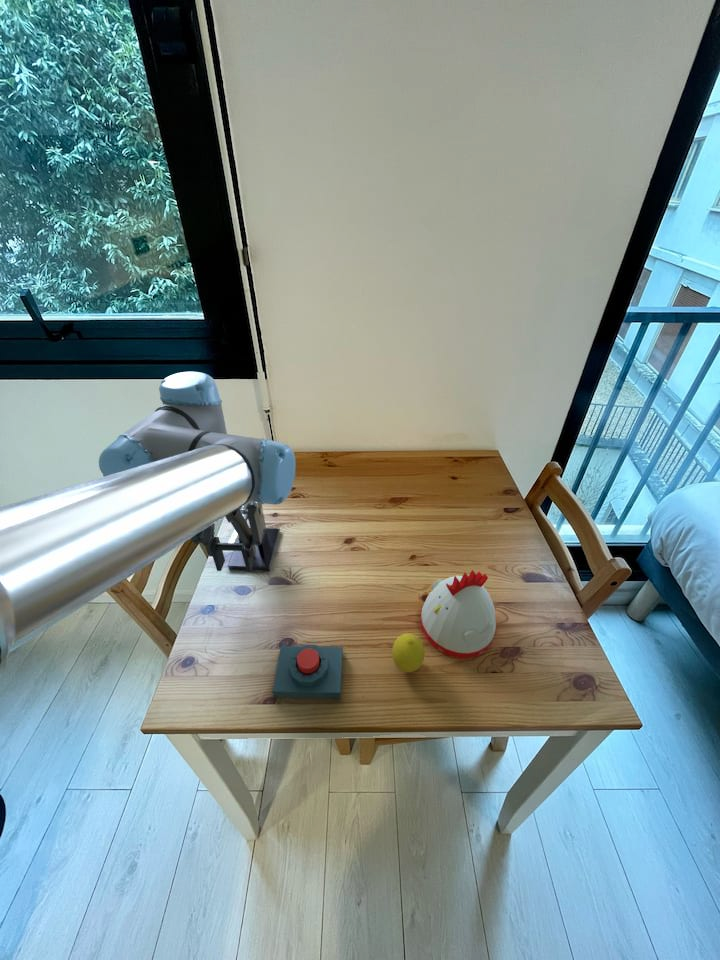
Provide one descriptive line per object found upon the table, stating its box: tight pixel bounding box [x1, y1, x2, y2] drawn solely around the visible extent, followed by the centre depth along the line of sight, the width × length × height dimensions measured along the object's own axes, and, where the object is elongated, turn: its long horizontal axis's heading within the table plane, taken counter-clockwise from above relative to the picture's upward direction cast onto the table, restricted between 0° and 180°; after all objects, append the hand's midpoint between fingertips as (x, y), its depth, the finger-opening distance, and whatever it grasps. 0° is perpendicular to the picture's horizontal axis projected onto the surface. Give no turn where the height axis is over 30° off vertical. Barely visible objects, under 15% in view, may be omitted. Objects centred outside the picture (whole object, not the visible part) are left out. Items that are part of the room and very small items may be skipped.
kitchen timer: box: [419, 569, 497, 659], centre depth 74 cm, size 14×14×15 cm
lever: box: [216, 505, 248, 552], centre depth 81 cm, size 14×5×2 cm, turn 178°
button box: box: [272, 644, 344, 700], centre depth 69 cm, size 11×8×4 cm
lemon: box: [391, 633, 426, 673], centre depth 70 cm, size 6×6×8 cm
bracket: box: [227, 503, 281, 572], centre depth 89 cm, size 12×9×14 cm
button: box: [297, 648, 319, 674], centre depth 68 cm, size 4×4×2 cm
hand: (235, 565), depth 79 cm, fingers closed on lever, 5 cm apart
